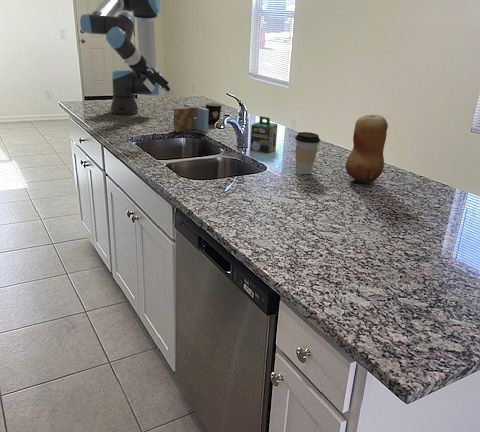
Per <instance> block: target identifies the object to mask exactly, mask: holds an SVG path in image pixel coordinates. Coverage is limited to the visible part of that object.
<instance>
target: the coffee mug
mask: <svg viewBox="0 0 480 432" xmlns="http://www.w3.org/2000/svg"><path fill="white" fill-rule="evenodd" d="M222 106H223V104H221V103H219V102H218V103H217V102H207V103H205V108H206V109H209V115H208V125H214V124H215V123H216V122H217V121H218V120H219V121H220V118H221V112H222V108H223V107H222ZM215 125H216V124H215Z"/></svg>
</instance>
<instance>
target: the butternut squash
mask: <svg viewBox="0 0 480 432" xmlns="http://www.w3.org/2000/svg"><path fill="white" fill-rule="evenodd" d="M388 127H389V125H388V122H387V120H386V118H385V117H384V116H383V115H380V114H366V115H363V116H360V117H358V119H357V120H356V122H355V124H354V130H353V138H352V140H353V141H352V143H353V147H352V150H351V152H350V153H349V154H348V156H347V158H346V161H345V170H346V173H347V174H348V176H349V177H351V178H352V179H353V180H354V181H356V182H357V181H359V182H358V183H360V182H363V183H364V182H365V183H373V182H375V181H376V180H377V179H378V178H380V176H381V175H382V174H383V170H384V169H385V168H384V167H385V157H384V148H385V145H386V140H387V134H388V133H387V131H388Z"/></svg>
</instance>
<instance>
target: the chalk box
mask: <svg viewBox="0 0 480 432" xmlns="http://www.w3.org/2000/svg"><path fill="white" fill-rule="evenodd" d="M263 120H266V122H265V121H263ZM250 128H251V129H250V140H249V141H250V145H249V151H254V152H259V153H263V154H270V153H271V152H273V151H274V150H276V148H277V138H278V137H277V135H278V123H273V122H271V119H270V117H267V116H259V121H258V122H255V123H253V124H251V127H250Z"/></svg>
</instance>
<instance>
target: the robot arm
mask: <svg viewBox="0 0 480 432" xmlns="http://www.w3.org/2000/svg"><path fill="white" fill-rule="evenodd" d="M130 12H132V14H131V13H130ZM160 13H161V0H102V1H101V2H100V3H99V5H98V6H97V7H96V8H95V9H94V10H93V11H92V13H91V14H90V13H87V14H86V13H83V14H82V15H81V16H80V18H79V19H80V21H79V25H80V29H81V31H82V32H83V33H85V34H89V35H92V34H93V35H105V40H106V42H107V43H108V44H109V46H110V47H111V48H112V49H113V50H114V51H115V52H116V53H117V54H118V55H119V56H120V58H121V59H122V60H123V62H124V63H125V64H127V65H128V67H129V68H122V69H121V68H120V69H116V70H115V69H114V71H113V72H112V78H111V81H112V101H111V104H110V109H109V110H110V114H114V115H119V116H120V115H121V116H132V115H133V116H134V115H138V114H139V107H138V104H137V101H136V95H141V96H151V97H152V96H158V95H160V93H161V92H162V91H161V90H163V92H164V93H166V95H167V96H168V97H169V98H171V97H172V95H173V94H174V91H173V90H172V89H171V87H170V86H169V85H168V84H169V81H167V80H166V79H165V78H164V76H163V74H162V73H160V69H159V68H158V67H157V57H156V53H157V52H156V35H155V34H156V31H155V30H156V29H155V20H156V19H157V17H158V14H160ZM116 14H118V15H117V16H116ZM135 24H136V28H137V42H138V43H137V44H138V45H137V46H138V48H137V47H136V46H135V45H134V44H133V42H132V37H133V33H134V31H135Z"/></svg>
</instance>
